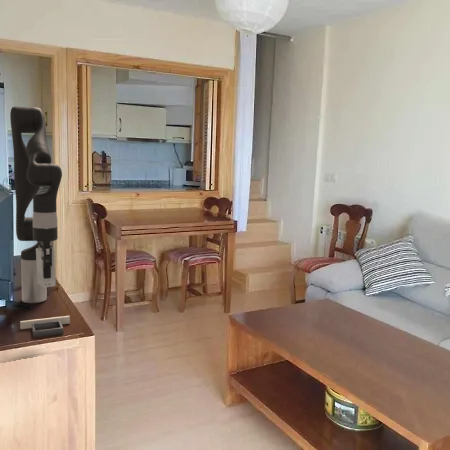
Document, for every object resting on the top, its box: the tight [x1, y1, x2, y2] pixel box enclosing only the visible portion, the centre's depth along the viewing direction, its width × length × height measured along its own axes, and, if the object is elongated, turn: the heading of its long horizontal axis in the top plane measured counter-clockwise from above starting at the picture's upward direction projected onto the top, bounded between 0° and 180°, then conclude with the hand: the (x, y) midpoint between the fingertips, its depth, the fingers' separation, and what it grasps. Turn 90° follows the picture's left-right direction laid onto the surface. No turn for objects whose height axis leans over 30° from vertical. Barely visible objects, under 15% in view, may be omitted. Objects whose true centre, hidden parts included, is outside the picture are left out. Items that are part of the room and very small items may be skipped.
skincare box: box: [36, 248, 56, 288], centre depth 156 cm, size 6×4×12 cm
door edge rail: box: [19, 315, 71, 330], centre depth 165 cm, size 1×16×2 cm, turn 117°
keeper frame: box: [31, 321, 64, 338], centre depth 160 cm, size 7×9×2 cm
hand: (45, 275), depth 157 cm, fingers closed on skincare box, 6 cm apart
